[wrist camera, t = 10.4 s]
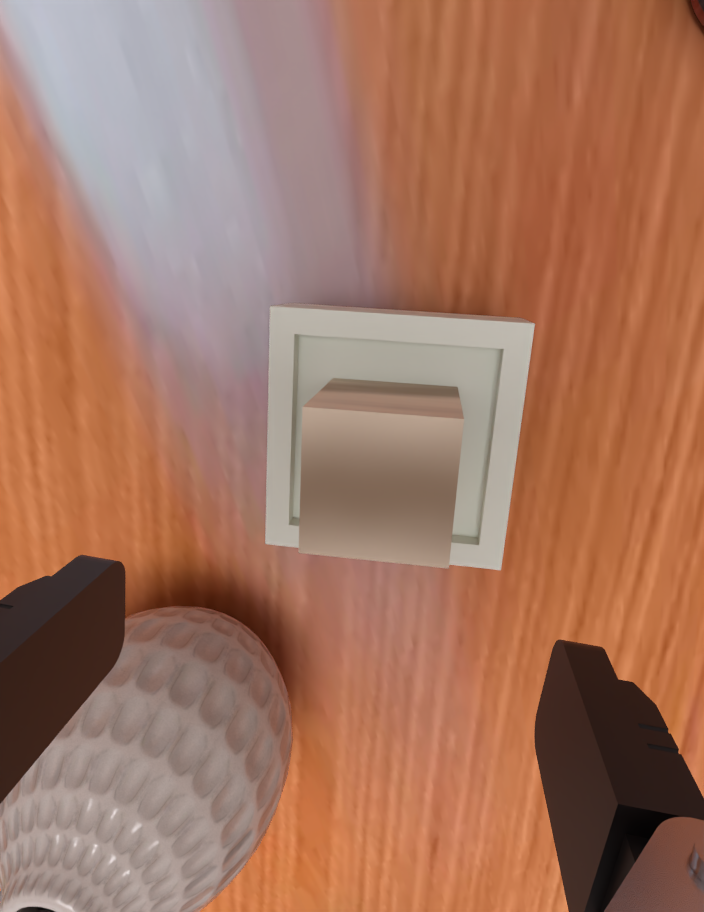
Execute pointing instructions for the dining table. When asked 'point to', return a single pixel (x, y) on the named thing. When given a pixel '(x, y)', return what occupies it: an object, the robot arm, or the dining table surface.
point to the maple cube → (380, 471)
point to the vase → (154, 775)
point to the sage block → (404, 361)
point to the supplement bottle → (698, 9)
